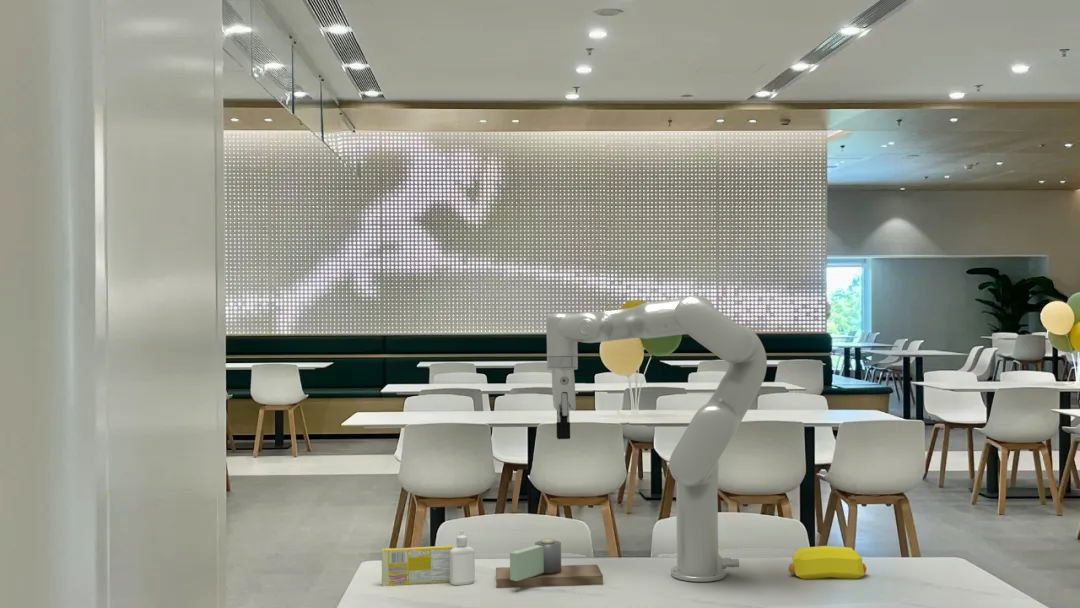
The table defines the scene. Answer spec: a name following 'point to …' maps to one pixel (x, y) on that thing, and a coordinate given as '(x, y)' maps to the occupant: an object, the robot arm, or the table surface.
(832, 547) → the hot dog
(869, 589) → the table surface
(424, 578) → the candy box
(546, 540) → the grey and green piece
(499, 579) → the post base
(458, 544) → the eye dropper bottle
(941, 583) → the table surface
